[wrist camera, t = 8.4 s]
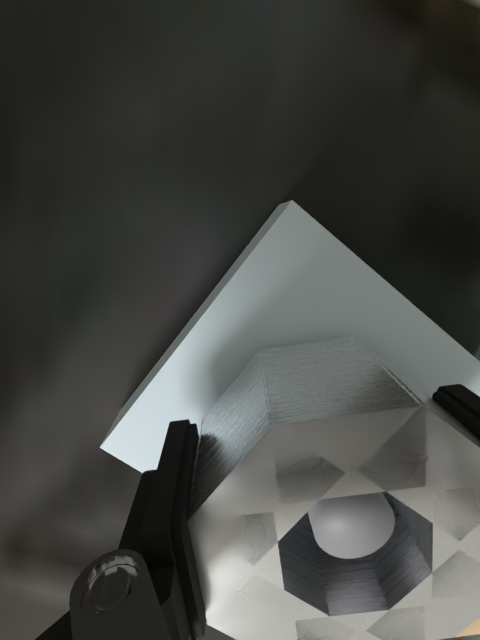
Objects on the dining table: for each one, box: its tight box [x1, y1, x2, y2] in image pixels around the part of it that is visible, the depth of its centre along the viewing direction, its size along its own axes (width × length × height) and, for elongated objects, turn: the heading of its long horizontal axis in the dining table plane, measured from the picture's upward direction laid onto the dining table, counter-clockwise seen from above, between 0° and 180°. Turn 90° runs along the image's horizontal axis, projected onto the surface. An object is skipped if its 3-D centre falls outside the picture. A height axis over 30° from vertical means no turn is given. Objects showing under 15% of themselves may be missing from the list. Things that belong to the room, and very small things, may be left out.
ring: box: [187, 336, 480, 640], centre depth 9 cm, size 7×7×4 cm
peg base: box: [100, 200, 480, 559], centre depth 11 cm, size 10×10×7 cm
